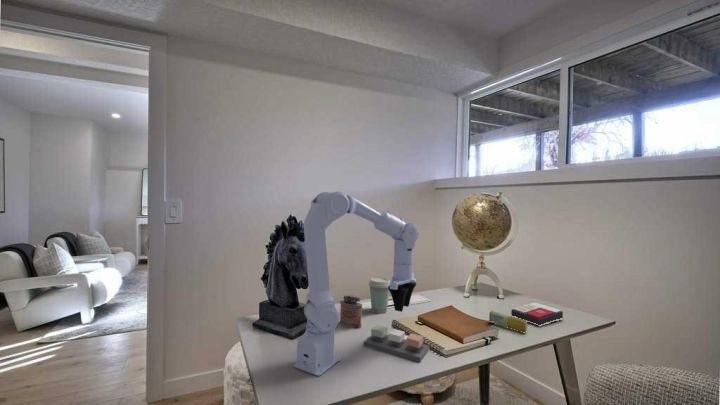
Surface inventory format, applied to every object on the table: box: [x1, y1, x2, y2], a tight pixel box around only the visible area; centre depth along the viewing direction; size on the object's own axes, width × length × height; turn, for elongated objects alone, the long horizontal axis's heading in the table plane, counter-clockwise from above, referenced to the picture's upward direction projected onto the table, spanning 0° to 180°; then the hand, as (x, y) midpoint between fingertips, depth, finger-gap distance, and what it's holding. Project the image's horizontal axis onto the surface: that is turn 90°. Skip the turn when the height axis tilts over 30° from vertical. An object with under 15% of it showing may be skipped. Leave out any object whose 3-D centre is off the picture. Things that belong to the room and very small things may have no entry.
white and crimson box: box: [510, 302, 564, 325], centre depth 116 cm, size 11×4×15 cm
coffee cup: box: [368, 277, 391, 314], centre depth 118 cm, size 8×8×12 cm
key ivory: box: [387, 328, 406, 343], centre depth 88 cm, size 4×4×2 cm
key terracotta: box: [406, 332, 424, 348], centre depth 86 cm, size 4×4×2 cm
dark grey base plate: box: [363, 333, 430, 363], centre depth 88 cm, size 8×17×1 cm, turn 60°
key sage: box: [370, 324, 389, 338], centre depth 91 cm, size 4×4×2 cm
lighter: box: [339, 294, 363, 329], centre depth 104 cm, size 8×3×10 cm, turn 62°
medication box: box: [489, 310, 528, 332], centre depth 106 cm, size 12×3×4 cm, turn 45°
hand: (401, 308), depth 91 cm, fingers open, 4 cm apart
